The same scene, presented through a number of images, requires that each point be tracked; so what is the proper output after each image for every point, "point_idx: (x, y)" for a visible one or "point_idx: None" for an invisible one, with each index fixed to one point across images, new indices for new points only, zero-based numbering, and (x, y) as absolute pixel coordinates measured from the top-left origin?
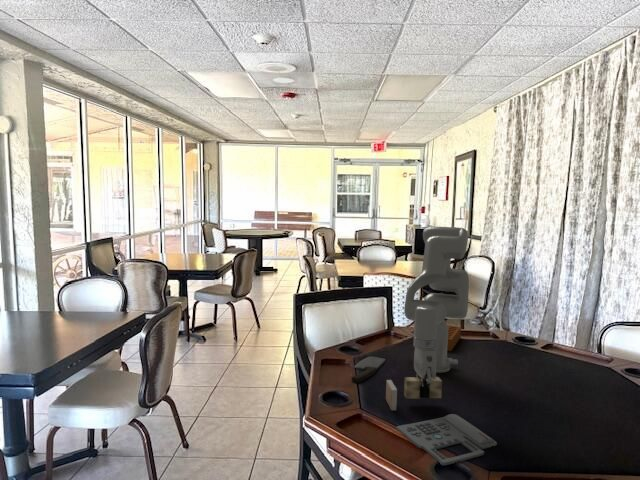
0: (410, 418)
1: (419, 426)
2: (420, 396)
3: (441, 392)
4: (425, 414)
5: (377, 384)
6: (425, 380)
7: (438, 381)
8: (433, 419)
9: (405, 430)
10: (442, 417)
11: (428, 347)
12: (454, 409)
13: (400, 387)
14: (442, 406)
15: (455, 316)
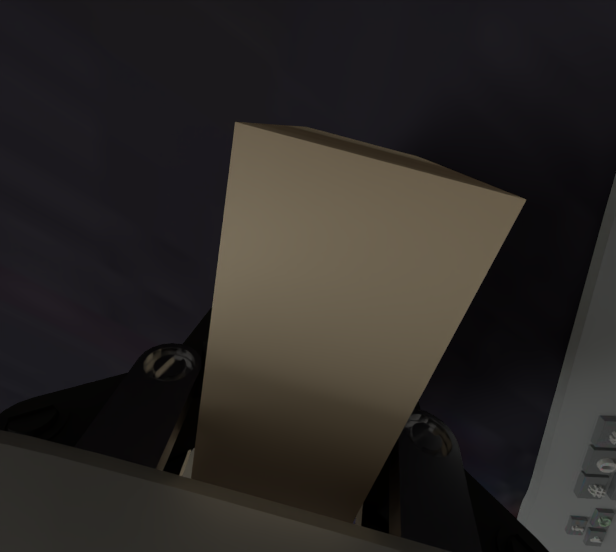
0: (459, 444)
1: (605, 488)
2: None
3: (433, 163)
4: (462, 347)
5: (9, 383)
6: (337, 492)
7: (465, 289)
8: (579, 363)
9: (578, 544)
10: (597, 283)
11: None
12: (519, 38)
13: (36, 278)
14: (410, 135)
15: None
